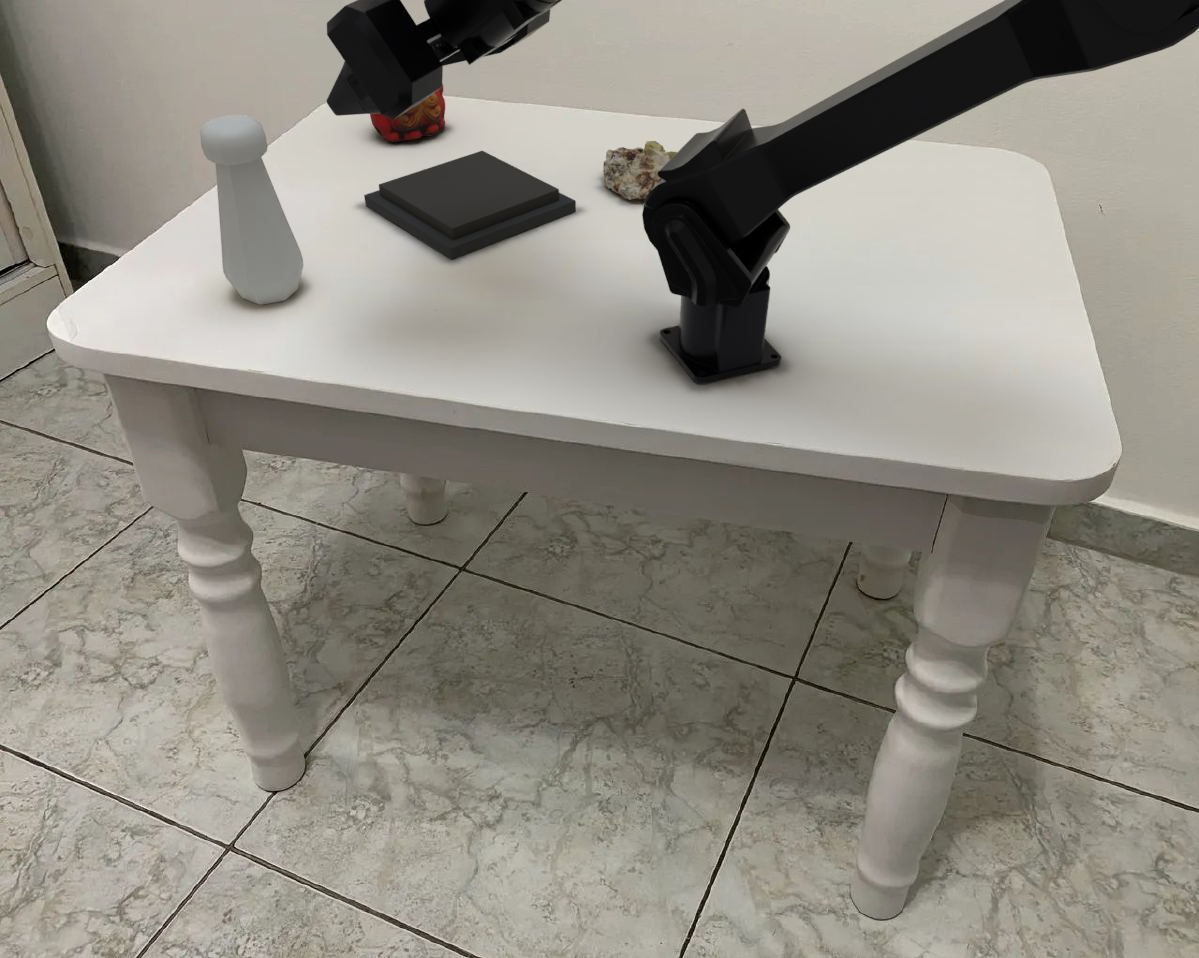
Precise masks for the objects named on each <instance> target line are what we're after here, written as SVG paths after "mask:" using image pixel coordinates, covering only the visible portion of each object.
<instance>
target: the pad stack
mask: <svg viewBox="0 0 1199 958" xmlns="http://www.w3.org/2000/svg"><path fill="white" fill-rule="evenodd" d="M363 196H364V203H365V206H366V207H367V208H369V209H371V210H372V211H374V212H375V213H377V214H378V215H380V216H381V217H383V218H385V219H386V220H388V221H389V222H391V223H393V224H394V225H396V226H398V227H399V228H400V229H402V230H403V231H405V232H407V233H408V234H410V235H412V236H413V237H415V238H416V239H418V240H420V241H422V242H423V243H424V244H426V245H427V246H429V247H431V248H433V249H434V250H436V251H437V252H439V253H441V254H442V255H444V256H445V257H447V258H448V259H450V260H453V259H457V258H459V257H462V256H464V255H467V254H469V253H472V252H474V251H477V250H479V249H482V248H485V247H488V246H490V245H493V244H495V243H498V242H500V241H503V240H506V239H509V238H510V237H514V236H516V235H518V234H521V233H524V232H526V231H528V230H531V229H534V228H537V227H539V226H542V225H544V224H547V223H549V222H552V221H555V220H557V219H559V218H562V217H565V216H567V215H571V214H572V213H575V212H576V211H577V205H576V203H577V201H576V200H575V199H573V198H571V197H569V196H567V195H566V194H563V193H561V192H560V189H559V188H558V187H555V186H553V185H552V184H550V183H547V182H546V181H544V180H542V179H539V178H537V177H535V176H533V175H532V174H530V173H528V172H526V171H524V170H522V169H520V168H517V167H516V166H514V165H512V164H509V163H508V162H507V161H504V160H501V159H500V158H499V157H496V156H494V155H492V154H490V153H488V152H486V151H484V150H480V151H477V152H474V153H470V154H467V155H465V156H461V157H458V158H455V159H452V160H450V161H446V162H443V163H440V164H437V165H434V166H431V167H428V168H424V169H421V170H419V171H415V172H412V173H409V174H406V175H403V176H400V177H397V178H394V179H391V180H388V181H385V182H382V183H379V184H378V189H377V190H376V191H375V190H374V191H372V192H369V193H366V194H364V195H363Z"/></svg>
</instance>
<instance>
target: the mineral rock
mask: <svg viewBox="0 0 1199 958" xmlns="http://www.w3.org/2000/svg"><path fill="white" fill-rule="evenodd" d="M677 152H678V151H672V150H670V151H666V149H665V148H664V145H662V144H660V143H659V142H657V141H656V140H648V141H646V142H645V144H644V148H643V147H635V148H626V147H624V146H622V147H618V148H616V149H614V150H613V149H610V148H609V149H608V150H607V151H606V152H605V160H604V161H603V165H602V166H603V167H602V169H603V170H602V171H603V178H604V180H603V181H604V182H603V183H604V184H605V186H606V187H607V188H608V189H611V191H613V192H615V193H617V194H619V195H621V196H622V197H623V198H624V199H626V200H628V201H633V200H645V198H646V197H647V195H648V194H649V192H650V191H651V190H652V189H653V188H654V187H655V186H656V185H657V184H658V183H659V182H660V181H661V180H662V178H660V177H659V176H658V175H657V173H658V171H659V170H660V169H661V168H662V167H663V166H664V165H665V164H666V163H667V162H668V161H669V160H670V159H671V158H672V157H673V156H674V155H675V154H676V153H677Z"/></svg>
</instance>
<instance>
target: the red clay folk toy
mask: <svg viewBox="0 0 1199 958" xmlns="http://www.w3.org/2000/svg"><path fill="white" fill-rule="evenodd" d="M443 93H444V83H443V82H442V87H441V88H440V89H439V90H437V91H436V92H435V93H433V94H432V95H431V96H429V97H428V98H427V99H425V100H424V101H422V102H421V103H419V104H418V105H416V106H415V107H413V108H412V109H410V110H408V111H407V112H405V113H403V114H402V115H400V116H399V117H397V118H395V119H394V120H392V119H390V118H388V117H385V116H383V115H382V114H369V117H370V121H371V124H372V126H373V128H374V129H375V130H376V132H377V133H378V134H379V135H380V137H382V138H384V140H387V142H392V143H397V142H405V141H414V140H415V141H416V140H419V139H421V138H422V137H433V136H435V135H437V134H439V133H441V132H442V131H443V130H445V128H446V120H445V114H446V101H445V98H444V95H443Z"/></svg>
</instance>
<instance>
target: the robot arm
mask: <svg viewBox="0 0 1199 958" xmlns="http://www.w3.org/2000/svg"><path fill="white" fill-rule="evenodd" d="M562 1H563V0H423V4H424V7H425V10H426V13H427V15H428V17H429V18H427V19H426V20H423V21H421V22H420V23H418V24H416V22H415V20H414V19H413V18H412V17H413V16H412V15H411V14H410V13H409V10H408V9H407V8H406V7H405V5H404V4H403V2H402V1H401V0H355V1H353V2H350V3H348V4H346V5H344V6H343V7H342V8H341V9H340V10H339V11H337V13H335V15H333V17H331V18H330V19H329V20H328V21H327V22H326V35H327V37H328V38H329V40H330V42H331V43H332V44H333V46H334V47H335V49H336V50H337V51H338V53H339V54H340V56H341V58H342V59H343V60H344V61H343V64H342V66H341V69H340V71H339V73H338V76H337V78H336V80H335V81H334V84H333V85H332V88H331V90H330V92H329V94H328V97H327V98H326V104H327V105H328V107H329V108H330V110H331V111H332V113H333V114H334V115H335V116H336V117H337V116H338V117H342V116H355V115H370V114H382V115H383V116H385V117H388V118H390V119H392V120H394V119H395V118H397V117H399V116H400V115H402V114H403V113H405V112H407V111H408V110H410V109H412V108H413V107H415V106H416V105H418V104H419V103H421V102H422V101H424V100H425V99H427V98H428V97H429V96H431V95H432V94H433V93H435V92H436V91H437V90H439V89H440V88H441V87H442V83H443V72H444V71H443V70H444V67H445V66H448V65H453V64H457V63H461V62H467V64H468V65H469V66H470V65H472V64H474V63H475V62H477V61H479V60H480V59H481V58H484V57H489V56H494V55H497V54H501V53H503V52H505V51H506V50H508V49H509V48H511V47H513V46H516V45H517V44H519V43H521V42H522V41H524V40H525V39H528V38H529V37H531V36H532V35H533V34H534V33H536V32H537V31H538V30H540V29H541V28H542V27H544V26H545V25H546V24H548V23H549V22H550V19H551V10H552V9H553V8H554V7H556V5H558V4H559V3H561V2H562ZM1198 30H1199V0H1003V1H1001V2H999V3H997V4H995V5H993V6H992V7H990V8H988V9H986V10H984V11H983V12H980V13H979V14H977V15H975V16H974V17H972V18H970V19H968V20H967V21H964V22H963V23H961V24H959V25H957V26H955V27H953V28H952V29H950V30H948V31H947V32H944V33H942V34H941V35H939V36H938V37H936V38H934V39H932V40H930V41H928V42H926V43H924V44H923V45H921V46H919V47H917V48H915V49H914V50H912V51H910V52H908V53H906V54H905V55H903V56H901V57H899V58H897V59H896V60H894V61H892V62H890V63H888V64H886V65H884V66H883V67H881V68H879V69H877V70H875V71H873V72H872V73H870V74H868V75H866V76H864V77H863V78H861V79H858V80H857V81H856V82H854V83H852V84H849V85H848V86H846V87H844V88H842V89H841V90H839V91H837V92H835V93H833V94H831V95H830V96H828V97H826V98H824V99H823V100H821V101H819V102H817V103H815V104H813V105H812V106H809V107H808V108H806V109H805V110H802V111H801V112H799V113H797V114H795V115H793V116H792V117H790V118H788V119H786V120H785V121H782V122H780V123H776V124H772V125H767V126H759V127H753V126H752V125H751V122H750V119H749V116H748V113H747V110H746V109H745V108H741V109H740V110H739V111H737V112H736V113H734V114H733V116H731V117H730V118H729V119H728V120H726V122H724V123H723V124H722V125H720V126H719V127H717V128H714V129H713V130H710V131H706V132H705V131H704V132H696V133H695V134H694V135H693V136H692V137H691V138H690V139H689V140H688V141H687V142H686V143H685V144H683V146H682V147H681V148H680V149H679V150H678V151H676V152H677V153H676V154H675V155H674V156H673V157H672V158H671V159H670V160H669V161H668V162H667V163H666V164H665V165H664V166H663V167H662V168H661V169H660V170H659V171H658V173H657V175H658V176H659V177H660V178H662V180H661V181H660V182H659V183H658V184H657V185H656V186H655V187H654V188H653V189H652V190H651V191H650V192H649V194H648V195H647V197H646V198H645V199H643V208H642V213H641V217H642V222H643V229H644V232H645V234H646V236H647V238H648V240H649V242H650V243H651V245H652V246H653V247H654V249H656V251H657V254H658V258H659V260H660V263H661V264H660V265H661V267H662V270H663V273H664V276H665V280H666V282H667V283H666V284H667V287H668V289H669V292H670V293H671V294H673V295H677V296H680V308H679V325H675V326H669V327H665V328H662V329H660V331H659V339H660V340H661V341H662V343H663V344H664V345H665V346H666V347H667V349H668V350H669V352H671V354H672V356H673V357H674V358H675V359H676V360H677V361H678V362H679V363H680V365H681V366H682V367H683V368H684V370H685V371H686V373H687V374H688V375H689V376H690V377H691V379H692V380H693V381H694V382H696V383H701V384H703V383H707V382H712V381H716V380H720V379H725V378H730V377H733V376H734V377H735V376H738V375H743V374H747V373H751V372H755V371H759V370H763V369H767V368H772V367H777V366H779V365H781V364H782V363H781V362H782V355H781V354H780V353H779V352H778V350H776V349H775V347H774V346H773V345H772V344H770V342H769V341H768V340H767V339H766V338H765V336H766V327H767V319H768V311H769V302H770V294H771V286H770V278H771V271H770V269H769V267H768V264H769V262H770V261H771V260H772V258H773V257H774V255H775V254H777V253H778V251H779V250H780V248H781V247H782V245H783V243H784V241H785V239H786V238H787V236H788V234H789V232H790V230H791V224H790V223H789V221H788V220H787V218H785V216H784V215H783V213H782V212H781V211H780V209H781V207H782V206H783V205H785V204H786V203H787V202H789V201H790V200H791V199H792V198H794V197H795V196H797V195H799V194H801V193H803V192H805V191H808V190H810V189H811V188H813V187H816V186H817V185H819V184H821V183H824V182H826V181H828V180H830V179H832V178H834V177H836V176H838V175H840V174H842V173H844V172H846V171H848V170H850V169H852V168H854V167H856V166H859V165H860V164H862V163H865V162H867V161H869V160H871V159H873V158H875V157H878V156H879V155H881V154H883V153H885V152H887V151H889V150H891V149H893V148H896V147H897V146H899V145H902V144H904V143H905V142H908V141H910V140H911V139H914V138H916V137H918V136H921V134H924V133H926V132H928V131H930V130H932V129H934V128H935V127H938V126H940V125H943V124H945V123H946V122H949V121H951V120H952V119H954V118H956V117H958V116H960V115H963V114H964V113H967V112H969V111H971V110H974V109H975V108H977V107H979V106H981V105H983V104H985V103H988V102H990V101H991V100H993V99H995V98H997V97H1000V96H1002V95H1003V94H1005V93H1007V92H1010V91H1012V90H1013V89H1016V88H1017V87H1020V86H1022V85H1025V84H1027V83H1031V82H1033V81H1038V80H1043V79H1050V78H1057V77H1064V76H1070V75H1077V74H1084V73H1090V72H1096V71H1098V70H1101V69H1104V68H1108V67H1111V66H1114V65H1118V64H1121V63H1124V62H1127V61H1131V60H1134V59H1137V58H1141V57H1144V56H1147V55H1151V54H1154V53H1157V52H1160V51H1161V52H1162V51H1163V50H1166V49H1169V48H1171V47H1174V46H1176V45H1178V43H1180V42H1181V41H1184V40H1185V39H1187V38H1188V37H1190V36H1191V35H1193V34H1194V33H1196V31H1198Z"/></svg>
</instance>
